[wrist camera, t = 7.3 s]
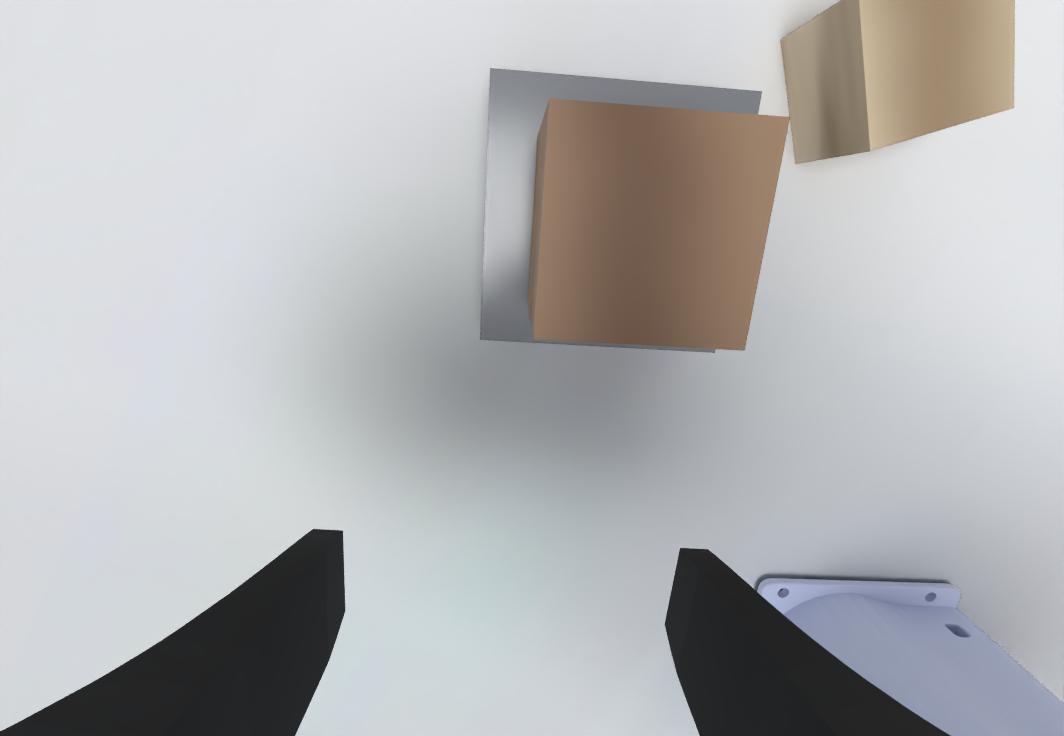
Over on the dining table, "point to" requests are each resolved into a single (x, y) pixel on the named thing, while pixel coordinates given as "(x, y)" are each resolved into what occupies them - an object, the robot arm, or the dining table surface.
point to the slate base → (513, 177)
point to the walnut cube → (650, 223)
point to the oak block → (895, 72)
